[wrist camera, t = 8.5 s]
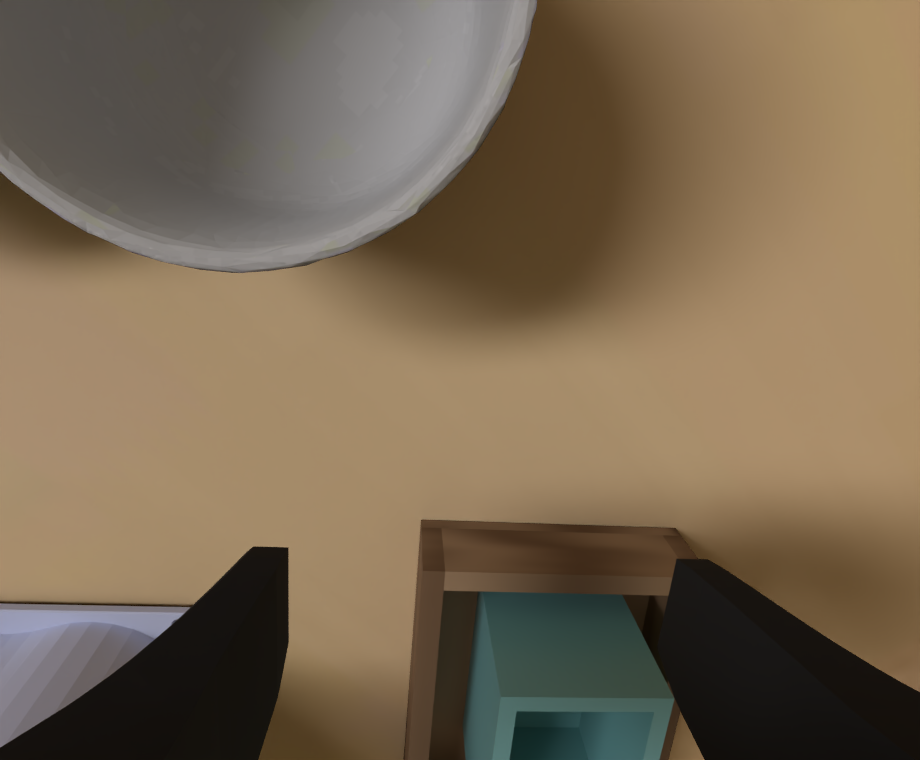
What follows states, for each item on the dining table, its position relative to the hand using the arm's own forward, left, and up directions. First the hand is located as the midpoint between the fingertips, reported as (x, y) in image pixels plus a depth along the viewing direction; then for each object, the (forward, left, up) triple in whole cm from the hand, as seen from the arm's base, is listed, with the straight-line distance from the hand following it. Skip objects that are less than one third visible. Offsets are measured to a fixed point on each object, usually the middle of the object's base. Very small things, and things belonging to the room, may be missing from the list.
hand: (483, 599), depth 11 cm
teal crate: (+4, -10, -9) cm, 14 cm away
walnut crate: (+4, -10, -10) cm, 15 cm away
